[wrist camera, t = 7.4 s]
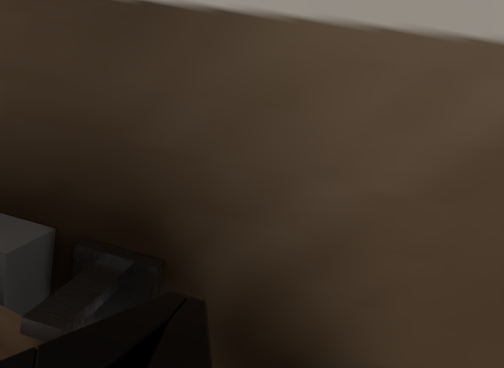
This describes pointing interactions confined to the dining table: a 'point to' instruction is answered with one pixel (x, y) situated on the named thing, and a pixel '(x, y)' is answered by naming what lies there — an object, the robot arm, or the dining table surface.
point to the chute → (13, 334)
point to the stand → (94, 290)
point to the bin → (25, 263)
